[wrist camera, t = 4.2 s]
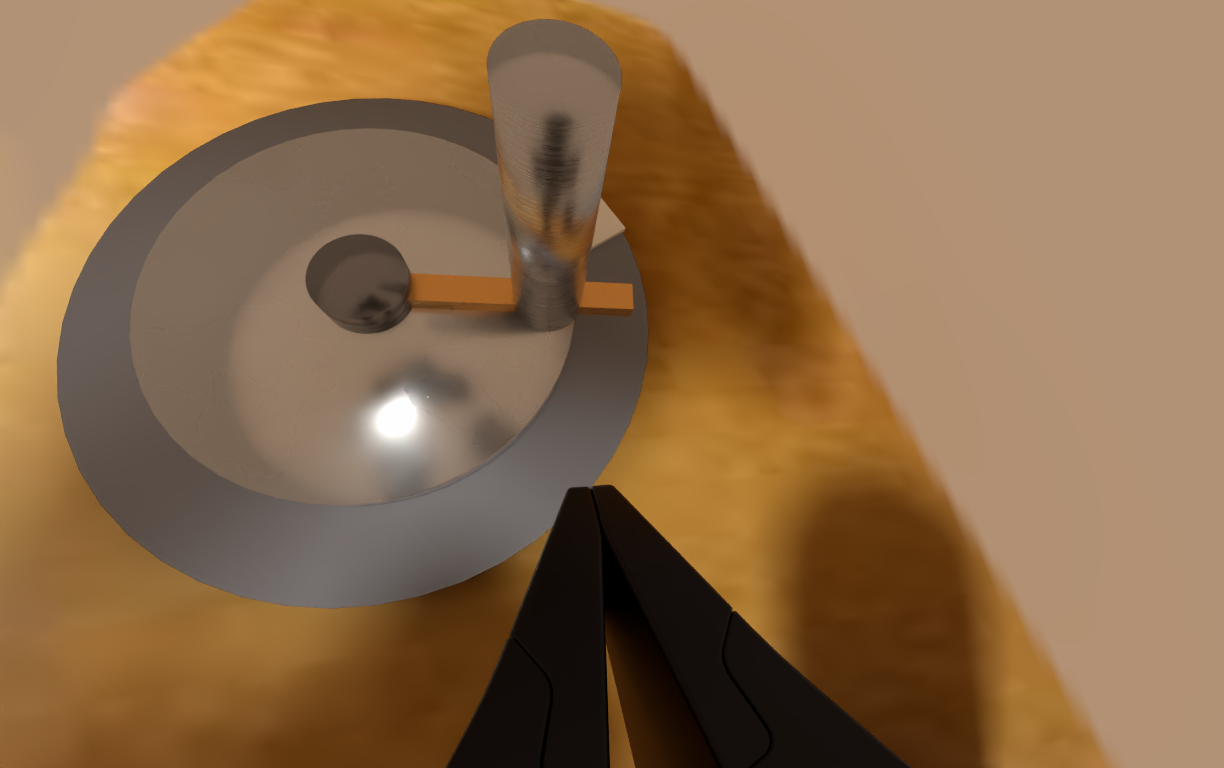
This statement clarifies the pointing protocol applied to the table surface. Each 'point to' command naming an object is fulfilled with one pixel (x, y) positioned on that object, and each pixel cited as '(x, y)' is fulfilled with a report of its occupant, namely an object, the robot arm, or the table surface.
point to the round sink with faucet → (385, 289)
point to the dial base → (309, 533)
